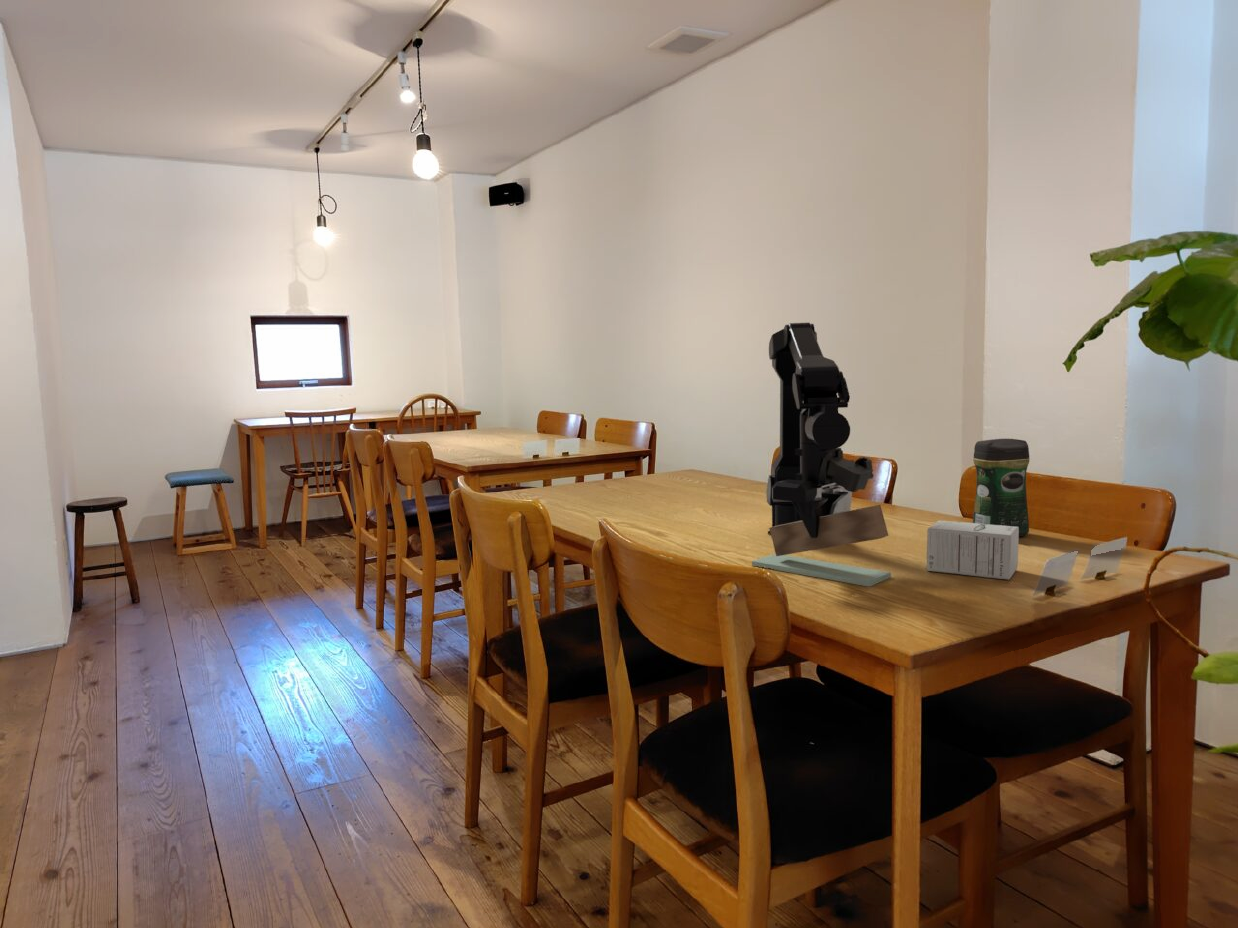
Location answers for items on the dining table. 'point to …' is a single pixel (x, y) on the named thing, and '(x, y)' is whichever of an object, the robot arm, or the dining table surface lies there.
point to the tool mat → (823, 569)
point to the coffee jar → (1001, 483)
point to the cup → (843, 502)
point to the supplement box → (973, 549)
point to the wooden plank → (830, 531)
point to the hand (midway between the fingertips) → (818, 536)
